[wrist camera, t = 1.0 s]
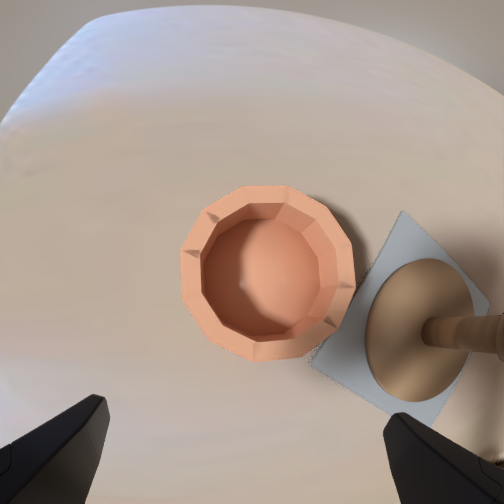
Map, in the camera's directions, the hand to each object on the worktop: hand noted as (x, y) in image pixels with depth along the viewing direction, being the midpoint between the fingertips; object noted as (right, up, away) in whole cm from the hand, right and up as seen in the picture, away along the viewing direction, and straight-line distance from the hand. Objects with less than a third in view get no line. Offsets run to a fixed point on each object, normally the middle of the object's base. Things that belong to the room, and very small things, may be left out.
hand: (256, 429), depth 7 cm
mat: (+15, -2, +15) cm, 22 cm away
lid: (+15, -2, +15) cm, 22 cm away
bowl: (+1, +3, +15) cm, 15 cm away
